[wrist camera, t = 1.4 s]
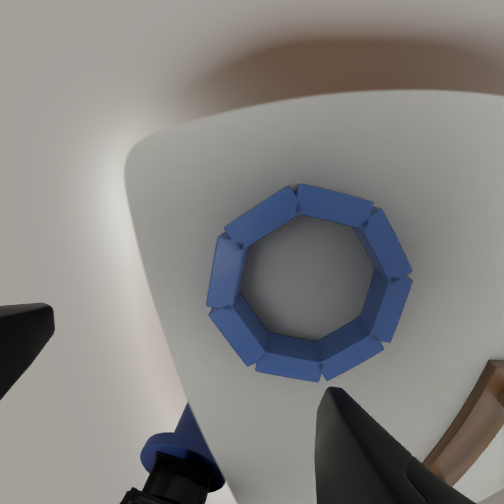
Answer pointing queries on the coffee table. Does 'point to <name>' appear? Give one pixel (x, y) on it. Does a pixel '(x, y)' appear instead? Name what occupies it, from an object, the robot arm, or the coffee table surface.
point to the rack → (471, 427)
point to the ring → (337, 343)
